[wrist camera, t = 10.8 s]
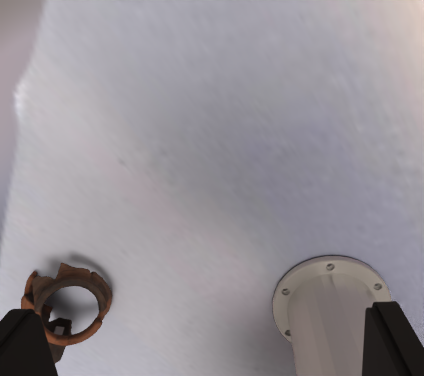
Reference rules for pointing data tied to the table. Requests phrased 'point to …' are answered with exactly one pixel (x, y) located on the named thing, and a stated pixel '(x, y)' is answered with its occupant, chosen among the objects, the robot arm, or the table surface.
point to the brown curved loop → (61, 328)
